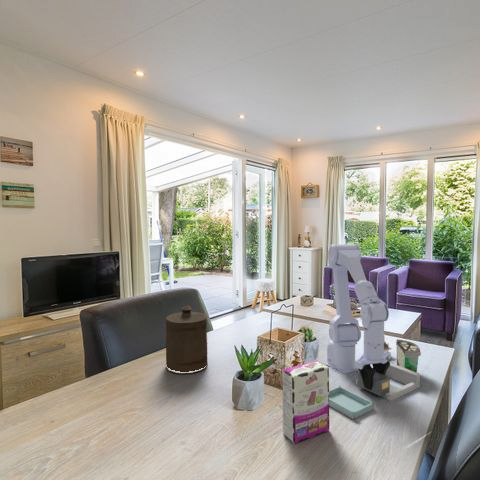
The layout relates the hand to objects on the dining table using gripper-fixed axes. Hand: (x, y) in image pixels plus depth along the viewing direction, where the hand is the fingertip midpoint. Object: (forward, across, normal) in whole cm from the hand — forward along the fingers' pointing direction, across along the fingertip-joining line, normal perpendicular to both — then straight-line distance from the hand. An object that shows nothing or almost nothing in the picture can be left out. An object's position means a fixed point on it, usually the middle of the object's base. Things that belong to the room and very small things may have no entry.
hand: (373, 386), depth 105 cm
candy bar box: (+2, -31, -3) cm, 31 cm away
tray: (+2, -12, 0) cm, 12 cm away
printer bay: (+2, +7, 0) cm, 8 cm away
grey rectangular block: (+1, 0, 0) cm, 1 cm away
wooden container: (+2, -38, +50) cm, 63 cm away
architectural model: (+3, +28, +16) cm, 32 cm away
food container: (+2, +21, +1) cm, 21 cm away
